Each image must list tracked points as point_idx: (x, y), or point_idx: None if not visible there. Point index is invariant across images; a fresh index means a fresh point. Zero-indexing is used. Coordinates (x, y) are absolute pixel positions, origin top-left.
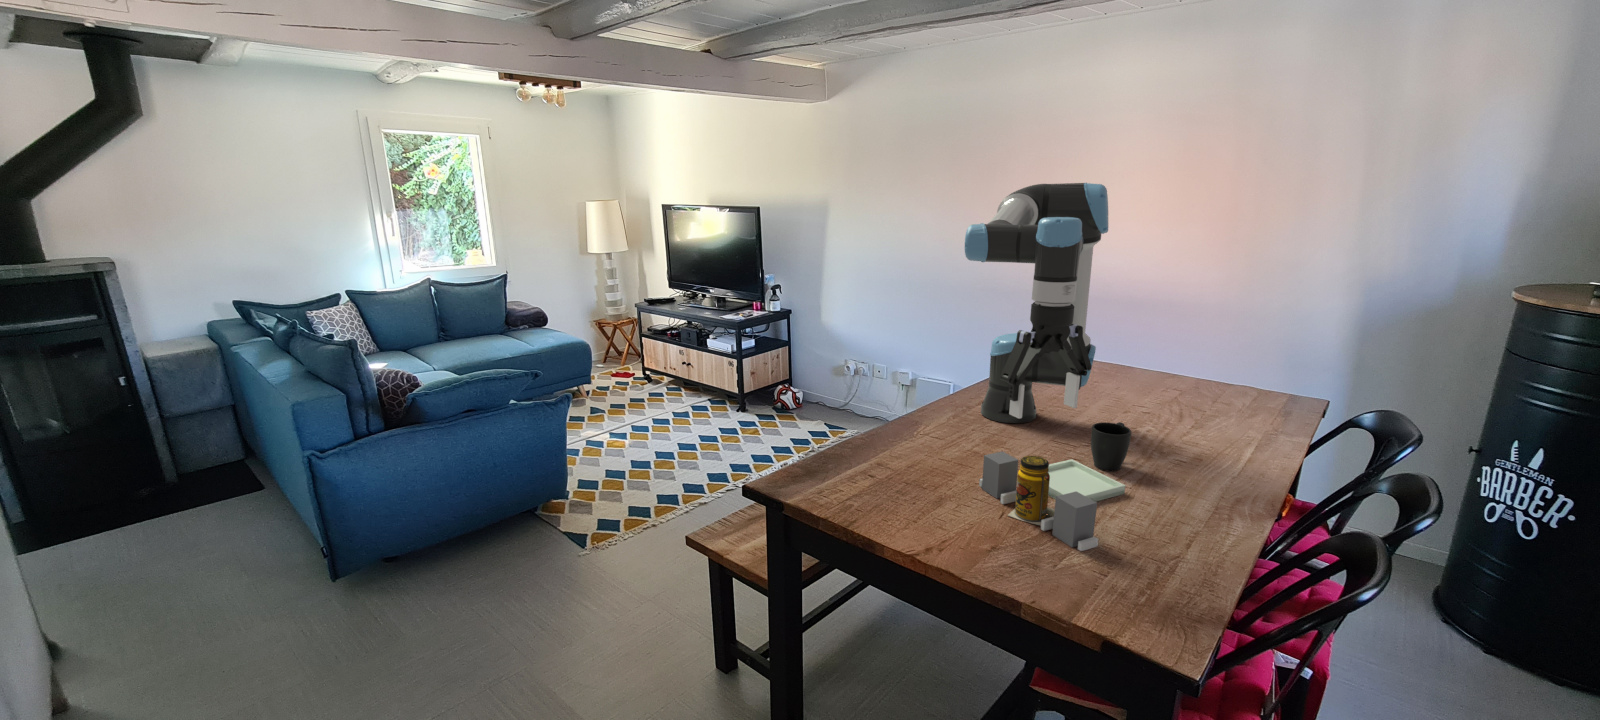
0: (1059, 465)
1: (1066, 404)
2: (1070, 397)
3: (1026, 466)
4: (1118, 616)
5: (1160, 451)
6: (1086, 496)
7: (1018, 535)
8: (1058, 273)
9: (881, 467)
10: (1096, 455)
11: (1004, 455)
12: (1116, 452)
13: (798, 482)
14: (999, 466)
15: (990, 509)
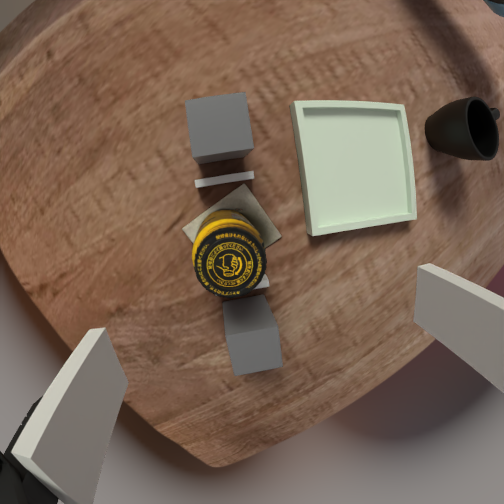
0: (375, 108)
1: (418, 284)
2: (441, 315)
3: (197, 277)
4: (200, 431)
5: None
6: (344, 230)
7: (169, 290)
8: None
9: (78, 25)
10: (436, 128)
11: (234, 114)
12: (457, 155)
13: None
14: (193, 158)
15: (165, 199)
